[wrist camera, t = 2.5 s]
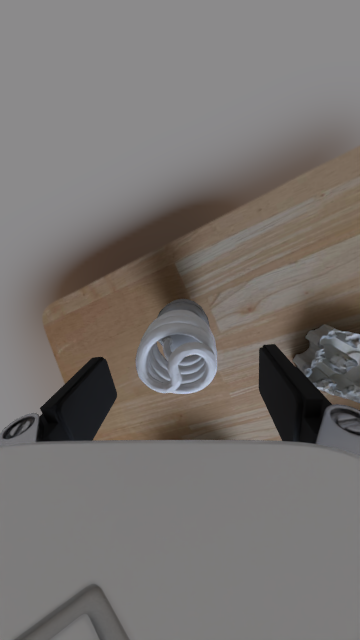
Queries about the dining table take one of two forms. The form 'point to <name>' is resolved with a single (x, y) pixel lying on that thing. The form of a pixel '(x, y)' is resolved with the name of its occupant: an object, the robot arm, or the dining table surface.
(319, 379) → the egg carton
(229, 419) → the dining table surface
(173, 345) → the light bulb
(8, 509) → the robot arm
